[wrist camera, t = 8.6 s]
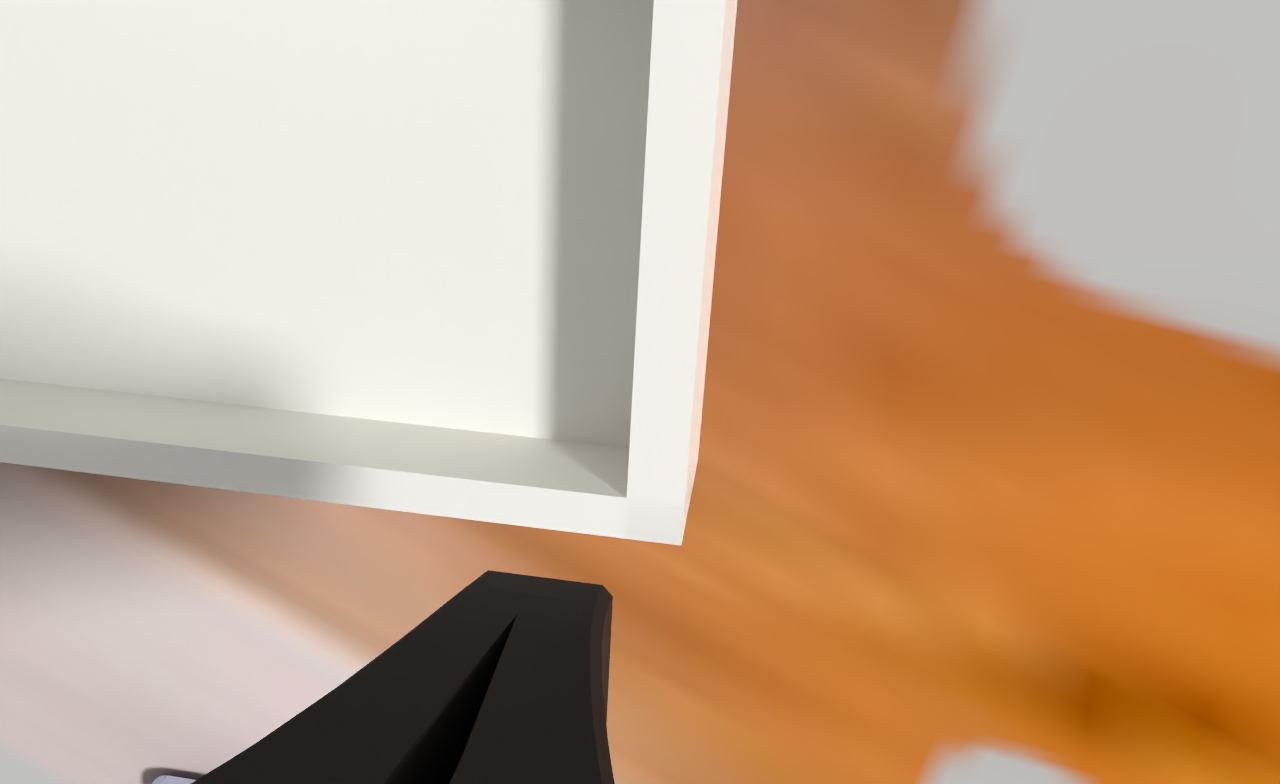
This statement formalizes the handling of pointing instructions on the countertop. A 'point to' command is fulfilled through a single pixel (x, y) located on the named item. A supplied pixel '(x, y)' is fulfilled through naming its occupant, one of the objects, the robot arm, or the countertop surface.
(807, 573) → the countertop surface
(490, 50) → the open front case
